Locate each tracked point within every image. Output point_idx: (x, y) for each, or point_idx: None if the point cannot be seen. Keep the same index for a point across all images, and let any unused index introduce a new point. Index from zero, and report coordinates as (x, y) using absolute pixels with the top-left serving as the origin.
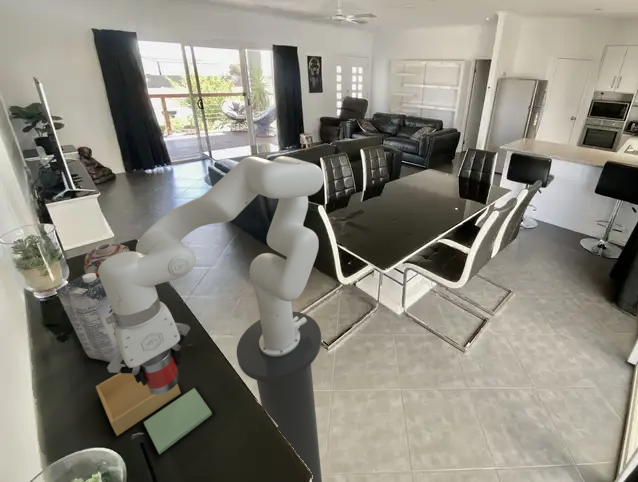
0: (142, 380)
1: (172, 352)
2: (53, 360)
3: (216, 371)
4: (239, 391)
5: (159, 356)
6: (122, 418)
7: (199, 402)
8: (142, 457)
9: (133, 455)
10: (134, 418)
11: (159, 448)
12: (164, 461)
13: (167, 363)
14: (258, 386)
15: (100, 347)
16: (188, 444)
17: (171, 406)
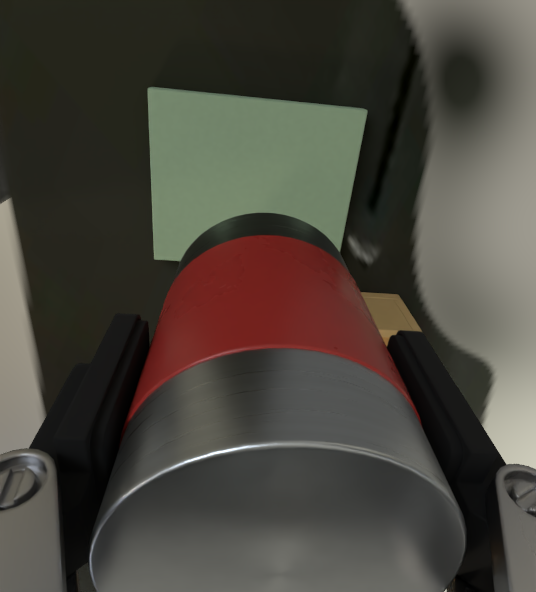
0: (439, 371)
1: (104, 463)
2: None
3: (59, 264)
4: (7, 84)
5: (255, 523)
6: (386, 323)
7: (166, 179)
8: (398, 153)
9: (408, 187)
10: None
11: (357, 121)
12: (367, 62)
13: (214, 367)
14: (2, 165)
15: None
16: (279, 43)
17: None
